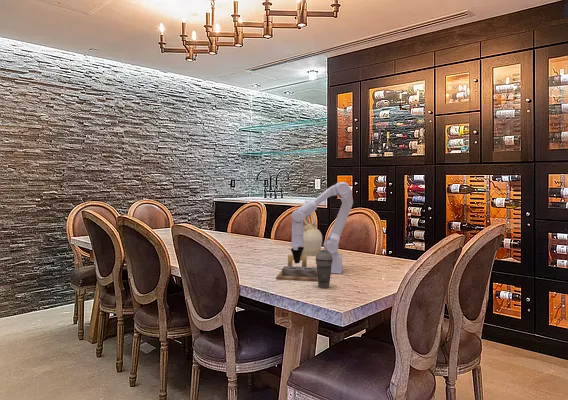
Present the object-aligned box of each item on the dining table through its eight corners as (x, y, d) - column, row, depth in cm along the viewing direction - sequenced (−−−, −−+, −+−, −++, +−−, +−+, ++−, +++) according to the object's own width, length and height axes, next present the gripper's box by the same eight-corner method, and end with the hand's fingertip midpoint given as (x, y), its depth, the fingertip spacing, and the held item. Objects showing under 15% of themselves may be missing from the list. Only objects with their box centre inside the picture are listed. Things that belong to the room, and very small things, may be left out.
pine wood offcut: (306, 267, 210) (306, 255, 209) (306, 268, 207) (306, 256, 206) (288, 266, 211) (288, 254, 211) (287, 267, 208) (287, 255, 208)
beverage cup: (321, 283, 184) (322, 237, 183) (335, 286, 179) (336, 239, 178) (311, 286, 178) (312, 239, 177) (326, 289, 174) (326, 240, 173)
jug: (309, 251, 271) (310, 211, 270) (327, 254, 260) (328, 213, 258) (291, 253, 262) (292, 212, 260) (309, 257, 250) (309, 214, 249)
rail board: (323, 274, 202) (323, 266, 202) (320, 281, 188) (320, 272, 188) (281, 272, 205) (281, 264, 205) (275, 279, 191) (276, 270, 191)
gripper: (291, 232, 216) (291, 259, 217) (287, 236, 202) (286, 265, 202) (305, 233, 215) (305, 260, 215) (301, 236, 200) (301, 265, 201)
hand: (297, 262), depth 209 cm, fingers closed on pine wood offcut, 3 cm apart
